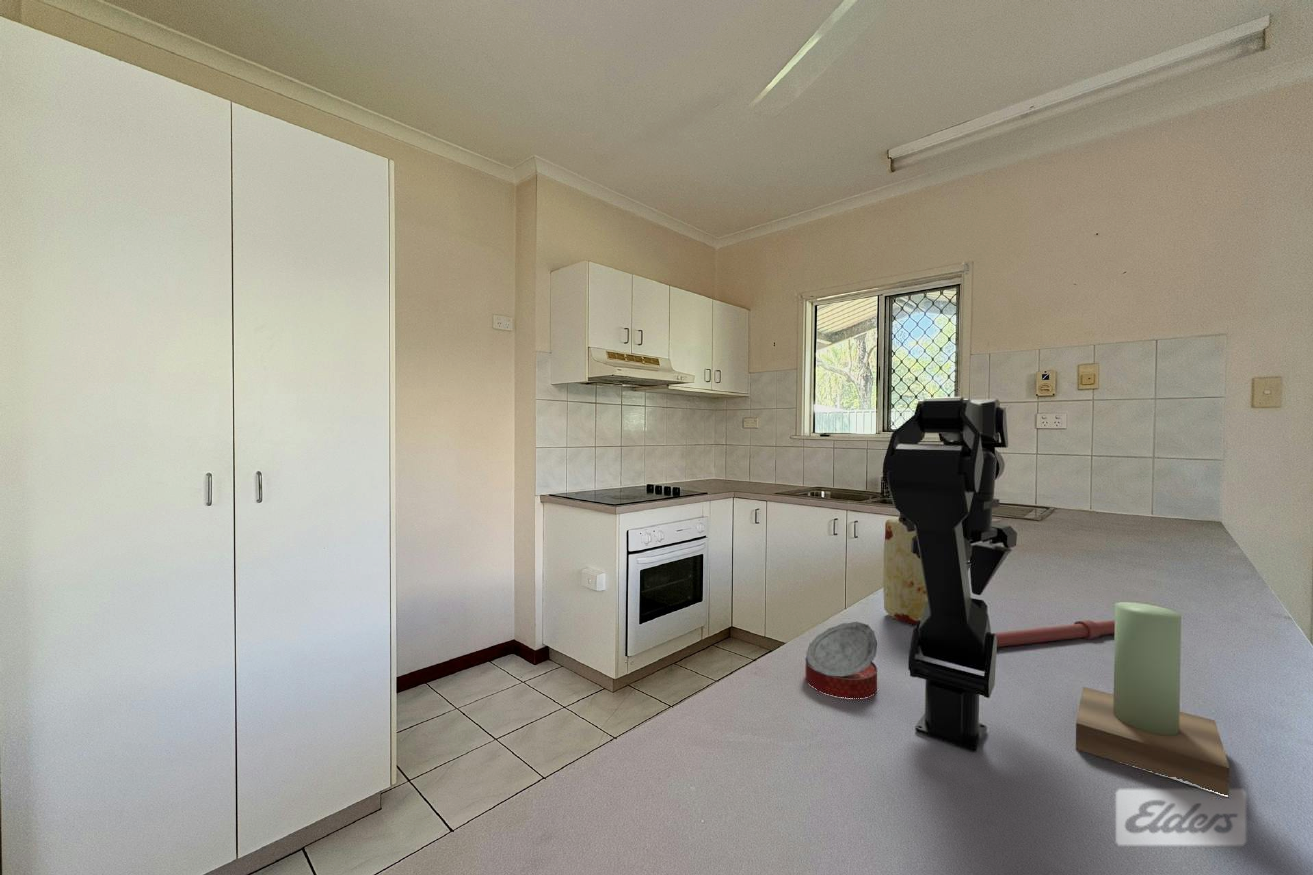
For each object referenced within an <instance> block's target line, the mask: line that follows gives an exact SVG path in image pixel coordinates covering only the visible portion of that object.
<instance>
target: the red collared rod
mask: <svg viewBox="0 0 1313 875" xmlns="http://www.w3.org/2000/svg"><path fill="white" fill-rule="evenodd" d="M993 633H994V634H996V636H997V648H1000V647H1010V646H1017V645H1018V646H1019V645H1028V644H1037V643H1043V642H1044V643H1045V642H1053V641H1062V640H1069V639H1071V640H1072V639H1079V638H1080V639H1081V638H1083V639H1086V640H1090V639H1091V640H1092V639H1093V640H1094V639H1098V638H1099V637H1100V636H1106V635H1113V634H1114V635H1115V619H1111V620H1104V621H1103V620H1102V621H1093V620H1088V619H1086V620H1080V621H1079V620H1078V621H1075V622H1074V623H1073V624H1066V625H1065V624H1063V625H1055V626H1048V627H1037V628H1026V629H1019V630H1010V631H1008V630H1007V631H999V632H993Z"/></svg>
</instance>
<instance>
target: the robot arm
mask: <svg viewBox="0 0 1313 875" xmlns="http://www.w3.org/2000/svg"><path fill="white" fill-rule="evenodd" d="M1000 402H1001V401H1000V400H999V399H998V398H987V399H986V398H984V399H983V398H981V399H980V398H978V399H970V398H964V397H963V396H942V397H941V396H940V397H938V396H936V397H926V398H924V399H919V400H918V402H917V404H916V408H915V410H914V414H913V415H912V416H911V417H910V418H908V419H907V420H906V421H905V422H904V423H902V424H901V425H900V426H899V427H898V428H897V429H895V430H894V431H893V432H892V433H891V435H890V439H889V442H888V446H887V449H886V452H885V456H884V458H883V463H882V480H883V484H884V485H885V486H886V487H888V490H889V494H890V497H891V500H892V504H893V507H894V509H895V510H897V511H898V512H899V517H898V518H899V522H900V523H902V524H903V525H905V526H906V528H907V532H912V531H916V536H914V537H913V538H912V543H911V552H912V553H913V554H916V555H917V557H918V558H919V559H921V565H922V571H923V576H924V582H925V587H926V593H927V599H928V601H927V602H926V604H925V608H924V611H923V615H922V618H919V620H918V623H917V625H915V626H914V627H913V628H912V634H911V638H910V644H909V650H908V664H907V665H908V667H907V668H908V671H909V676H910V677H912V678H918V679H922V680H925V682H924V685H925V686H924V688H925V690H924V691H925V692H924V695H925V696H924V714H923V715H922V716H921V718H920V719H919V720H918V721H917V723H916V724H915V727H914V730H915V731H916V732H917V733H920V734H923V735H924V736H928V737H932V738H933V739H936V738H937V740H940V741H942V742H945V743H947V742H948V744H951V745H954V746H956V747H959V748H962V749H964V750H967V751H970V752H972V753H973V752H975V753H976V752H977V751H978V749H979V748H980V745H981V743H982V742H983V740H984V737H985V735H986V733H987V731H988V730H987V729H988V726H986V725H985V724H982V723H981V722H979V721H980V696H983V698H988V699H990V698H991V695H992V692H993V689H994V687H995V681H996V666H997V652H998V651H997V648H998V647H997V636H996V634H994V633H995V632H992V629H991V624H990V622H991V621H990V617H989V613H988V604H986V602H985V601H984V600H983V599H978V598H975V597H974V598H972V597H971V593H972V594H973V595H976V596H981V595H982V594H983V592H985V590H986V588H987V587H988V585H989V583H990V582H991V580H992V579H993V577H994V576H995V574H996V573H997V571H998V570H999V568H1000V567H1001V565H1002V564H1003V563H1004V561H1005V560H1006V558H1007V557H1008V555H1009V554H1010V553H1012V548H1013V547H1017V539H1018V533H1017V532H1016V530H1015V529H1014V528H1013V527H1012V526H1011V525H1007V524H1002V523H995V522H993V514H994V513H993V512H994V508H999V507H1000V498H995V487H996V480H998V479H999V478H1001V476H1002V475H1003V473H1004V471H1005V467H1006V465H1005V464H1006V463H1005V459H1004V458H1003V456H1002V454H1001V453H1000V452H999V451H998V450H996V449H998V448H999V449H1000V448H1002V449H1005V448H1006V449H1007V448H1009V436H1008V424H1007V422H1008V421H1007V409H1006V406H1001V403H1000ZM926 434H938V438H939V442H942V443H943V444H937V443H934V444H933V443H931V444H930V443H921V441H923V439H924V438H925V436H926ZM1002 545H1003V546H1002ZM969 575H970V580H969ZM970 587H971V588H970ZM925 658H928V659H933V660H936V661H939V662H944V663H948V664H952V665H956V666H960V667H962V668H963V667H964V668H967V669H972V670H976V671H979V672H984V675H981V674H977V673H973V672H969V671H965V670H961V669H957V668H954V667H952V666H951V667H950V666H947V665H943V664H938V663H934V662H931V661H927V660H925Z"/></svg>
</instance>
